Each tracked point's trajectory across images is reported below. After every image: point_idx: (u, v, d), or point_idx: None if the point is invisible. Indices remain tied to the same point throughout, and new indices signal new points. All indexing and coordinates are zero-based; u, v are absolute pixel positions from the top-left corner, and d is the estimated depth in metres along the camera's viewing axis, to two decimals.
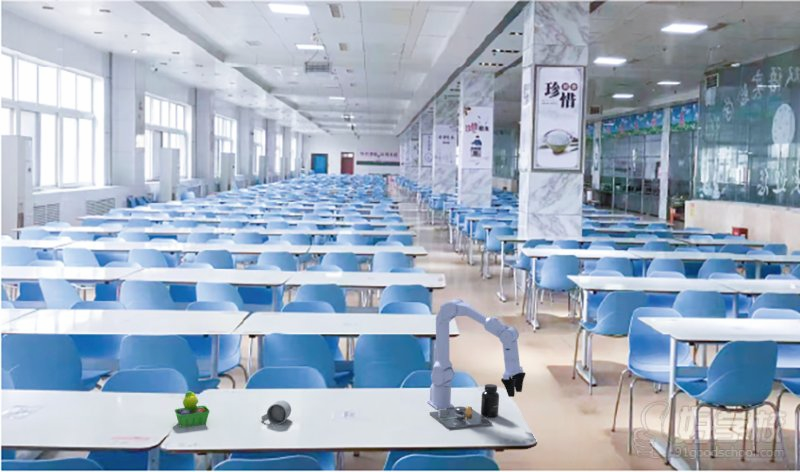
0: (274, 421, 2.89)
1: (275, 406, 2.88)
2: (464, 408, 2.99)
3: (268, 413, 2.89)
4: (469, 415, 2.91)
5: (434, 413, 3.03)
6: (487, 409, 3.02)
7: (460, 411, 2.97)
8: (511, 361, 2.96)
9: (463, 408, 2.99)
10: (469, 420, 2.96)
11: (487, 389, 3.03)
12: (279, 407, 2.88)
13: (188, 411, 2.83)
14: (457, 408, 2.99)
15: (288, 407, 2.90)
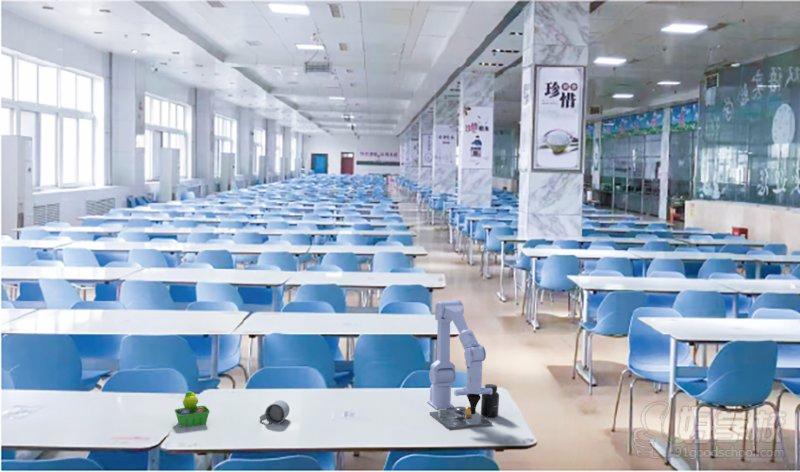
0: (272, 421, 2.89)
1: (273, 406, 2.89)
2: (464, 408, 2.99)
3: (266, 413, 2.89)
4: (468, 415, 2.91)
5: (434, 413, 3.03)
6: (487, 409, 3.02)
7: (460, 411, 2.97)
8: (468, 380, 2.90)
9: (463, 408, 2.99)
10: (469, 420, 2.96)
11: None
12: (277, 407, 2.88)
13: (188, 411, 2.83)
14: (457, 408, 2.99)
15: (286, 406, 2.90)
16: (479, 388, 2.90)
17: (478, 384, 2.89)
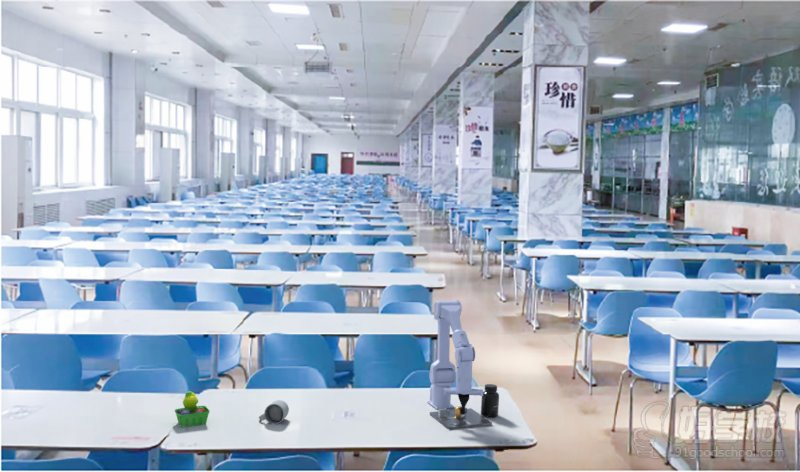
0: (272, 421, 2.89)
1: (273, 406, 2.89)
2: None
3: (266, 413, 2.89)
4: (457, 415, 2.91)
5: (434, 413, 3.03)
6: (487, 409, 3.02)
7: None
8: (457, 379, 2.90)
9: None
10: (469, 420, 2.96)
11: (487, 389, 3.03)
12: (277, 407, 2.88)
13: (188, 411, 2.83)
14: None
15: (285, 406, 2.90)
16: (467, 389, 2.88)
17: (466, 384, 2.88)
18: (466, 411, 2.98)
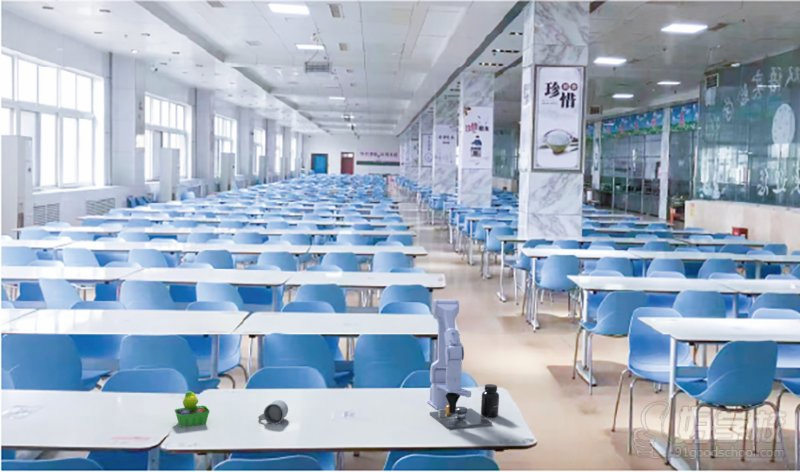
0: (271, 421, 2.89)
1: (272, 406, 2.89)
2: (462, 409, 2.98)
3: (265, 413, 2.89)
4: (446, 412, 2.93)
5: (434, 413, 3.03)
6: (487, 409, 3.02)
7: None
8: None
9: (462, 409, 2.98)
10: (469, 420, 2.96)
11: (487, 389, 3.03)
12: (276, 407, 2.88)
13: (188, 411, 2.83)
14: (458, 407, 3.00)
15: (284, 406, 2.90)
16: (453, 387, 2.89)
17: (451, 383, 2.89)
18: (464, 412, 2.97)
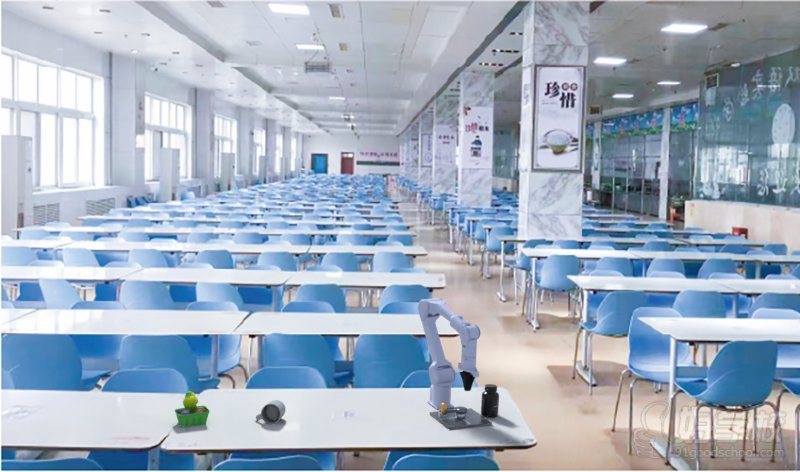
0: (268, 421, 2.90)
1: (269, 406, 2.89)
2: (461, 409, 2.97)
3: (262, 413, 2.89)
4: None
5: (434, 413, 3.03)
6: (487, 409, 3.02)
7: None
8: None
9: (461, 409, 2.98)
10: (469, 420, 2.96)
11: (487, 389, 3.03)
12: (273, 407, 2.89)
13: (188, 411, 2.83)
14: (460, 407, 3.00)
15: (282, 406, 2.91)
16: (464, 366, 2.99)
17: (463, 361, 3.00)
18: (461, 412, 2.97)
